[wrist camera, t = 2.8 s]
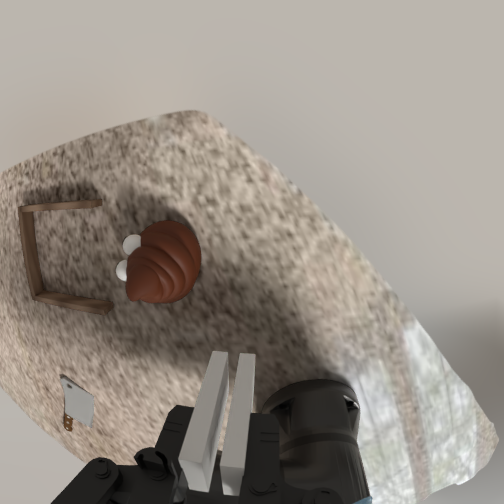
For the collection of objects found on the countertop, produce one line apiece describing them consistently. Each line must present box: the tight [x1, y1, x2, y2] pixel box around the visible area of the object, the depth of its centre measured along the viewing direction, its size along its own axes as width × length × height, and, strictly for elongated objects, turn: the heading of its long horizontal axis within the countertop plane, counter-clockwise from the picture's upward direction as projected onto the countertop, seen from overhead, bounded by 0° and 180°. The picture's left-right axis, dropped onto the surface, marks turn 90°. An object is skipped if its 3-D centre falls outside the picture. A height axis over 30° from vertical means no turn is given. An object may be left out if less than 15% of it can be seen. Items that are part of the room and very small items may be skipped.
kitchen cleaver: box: [60, 376, 94, 431], centre depth 43 cm, size 24×1×10 cm
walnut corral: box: [18, 199, 114, 315], centre depth 31 cm, size 16×15×2 cm
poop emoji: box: [116, 220, 201, 303], centre depth 27 cm, size 10×8×9 cm
